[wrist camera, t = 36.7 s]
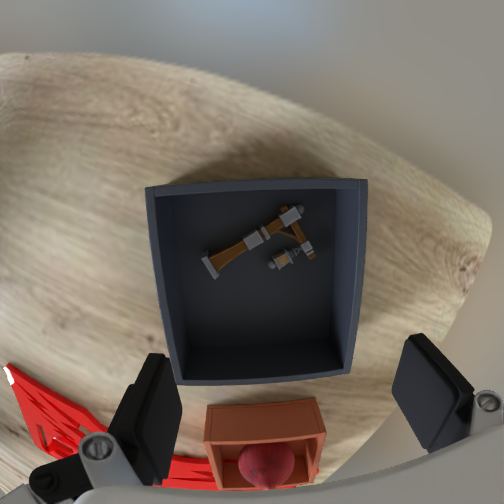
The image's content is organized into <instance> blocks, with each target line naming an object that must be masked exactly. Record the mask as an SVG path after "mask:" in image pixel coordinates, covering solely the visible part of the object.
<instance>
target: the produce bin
mask: <svg viewBox="0 0 504 504" xmlns="http://www.w3.org/2000/svg"><path fill="white" fill-rule="evenodd" d="M325 436H326V429H325V426H324V423H323V420H322V416H321V413H320V410H319V407H318V404H317V401H316V398H312V399H304V400H295V401H286V402H275V403H262V404H245V405H207V412H206V421H205V430H204V440H203V442H204V445H205V449H206V452H207V455H208V459H209V462H210V465H211V469H212V472H213V475H214V478H215V481H216V484H217V487H218V490H247V489H261V488H258V487H256V486H254V485H253V484H251V483H250V482H248V481H247V480H246V479H245V478H244V477H243V476H242V474H241V472H240V470H239V465H238V462H239V454H240V451H241V450H242V448H243V447H244V446H245V445H246V444H257V443H271V442H282V441H283V442H284V443H285V444H287V445H288V446H289V447H290V448H291V450H292V452H293V455H294V458H295V464H294V468H293V471H292V473H291V475H290V477H289V478H288V479H287V480H286V481H285V482H284V483H283V484H281V485H280V486H278V487H287V486H295V485H302V484H308V483H313V482H314V479H315V475H316V472H317V468H318V464H319V461H320V457H321V453H322V449H323V445H324V441H325ZM225 459H233V460H237V463H223V460H225Z"/></svg>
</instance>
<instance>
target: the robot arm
mask: <svg viewBox="0 0 504 504" xmlns="http://www.w3.org/2000/svg"><path fill="white" fill-rule="evenodd" d="M474 390H475V389H474V388H473V387H472V386H471V384H470V383H469V382H468V381H467V380H466V379H465V378H464V376H462V374H461V373H460V372H459V371H458V370H457V369H456V368H455V367H454V365H452V363H451V362H450V361H449V360H448V359H447V358H446V357H445V356H444V355H443V354H442V353H441V351H440V350H439V349H438V348H437V347H436V346H435V345H434V344H433V343H432V342H431V341H430V340H429V339H428V338H427V337H426V336H425V335H424V334H423V333H419V334H414V335H410V336H409V337H408V339H407V340H406V341H405V343H404V347H403V351H402V355H401V358H400V362H399V365H398V369H397V372H396V376H395V379H394V382H393V385H392V395H393V397H394V398H395V400H396V402H397V403H398V405H399V407H400V408H401V410H402V412H403V414H404V415H405V417H406V419H407V421H408V422H409V424H410V426H411V428H412V430H413V431H414V433H415V435H416V437H417V438H418V440H419V442H420V444H421V446H422V447H423V448H424V449H427V451H428V453H429V454H427V455H425V456H422V457H420V458H417V459H414V460H411V461H409V462H406V463H403V464H400V465H397V466H393V467H390V468H387V469H384V470H380V471H376V472H373V473H369V474H365V475H361V476H357V477H353V478H348V479H344V480H339V481H334V482H328V483H322V484H316V485H309V486H302V487H293V488H284V489H271V490H252V491H215V490H193V489H181V488H168V487H157V486H153V485H159V486H162V482H163V479H167V478H168V475H169V471H170V466H171V461H172V457H173V452H174V447H175V443H176V438H177V434H178V429H179V425H180V421H181V416H182V404H181V400H180V397H179V393H178V389H177V385H176V382H175V378H174V374H173V369H172V365H171V361H170V358H167V357H165V355H164V354H159V353H149V354H148V356H147V358H146V360H145V362H144V364H143V367H142V369H141V371H140V373H139V375H138V377H137V379H136V381H135V383H134V384H130V385H129V386H128V388H127V390H126V392H125V394H124V396H123V398H122V400H121V402H120V404H119V407H118V409H117V411H116V413H115V415H114V417H113V419H112V422H111V424H110V426H109V428H108V430H107V433H106V432H93V433H90V434H88V435H86V436H85V437H83V438H82V439H81V441H80V443H79V445H78V453H76V454H73V455H71V456H68V457H65V458H62V459H60V460H57V461H54V462H51V463H48V464H45V465H42V466H40V467H38V468H36V469H34V470H33V471H32V473H31V475H30V477H29V484H28V485H25V484H24V483H23V484H22V485H20V486H19V487H17V488H16V489H14V490H13V491H11V492H10V493H8V494H6V495H5V496H3V497H2V498H1V499H0V504H504V406H503V405H504V404H503V400H502V399H501V397H500V396H499V395H498V394H497V393H495V392H494V391H490V390H483V391H480V392H478V393H477V394H476V395H474V394H473V392H474ZM440 448H441V449H440Z"/></svg>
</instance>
